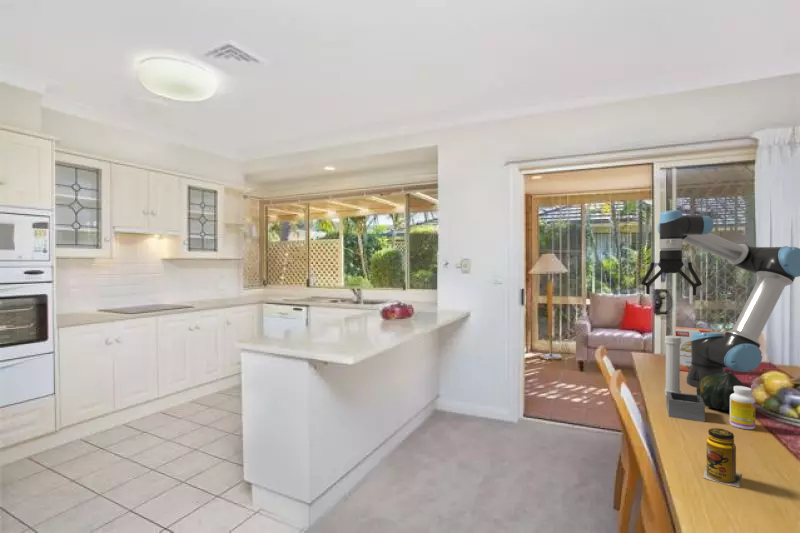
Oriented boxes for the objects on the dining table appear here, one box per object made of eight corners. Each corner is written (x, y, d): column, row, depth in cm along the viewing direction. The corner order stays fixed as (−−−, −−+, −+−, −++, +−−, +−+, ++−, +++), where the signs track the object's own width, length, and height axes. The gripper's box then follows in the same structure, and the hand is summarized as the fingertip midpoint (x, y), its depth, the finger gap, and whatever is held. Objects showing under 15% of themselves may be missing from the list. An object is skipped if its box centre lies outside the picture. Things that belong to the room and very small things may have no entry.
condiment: (702, 478, 108) (703, 432, 108) (705, 465, 115) (706, 422, 114) (739, 488, 103) (739, 440, 103) (740, 474, 110) (740, 428, 110)
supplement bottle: (757, 431, 136) (757, 392, 135) (731, 427, 139) (731, 389, 139) (753, 424, 141) (753, 386, 141) (728, 420, 145) (728, 383, 144)
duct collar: (700, 411, 153) (700, 395, 153) (704, 421, 144) (704, 404, 144) (666, 407, 158) (666, 391, 158) (668, 416, 149) (668, 399, 149)
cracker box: (674, 370, 207) (675, 328, 207) (674, 367, 212) (674, 326, 212) (710, 374, 200) (710, 330, 199) (708, 371, 205) (709, 328, 205)
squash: (690, 384, 168) (700, 362, 158) (735, 389, 163) (748, 367, 153) (697, 417, 158) (708, 396, 148) (746, 423, 153) (761, 402, 143)
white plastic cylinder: (683, 399, 166) (683, 323, 166) (665, 398, 168) (666, 323, 167) (677, 394, 172) (677, 321, 171) (660, 393, 173) (660, 321, 172)
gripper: (634, 250, 170) (634, 302, 171) (710, 249, 158) (710, 305, 159) (634, 250, 177) (634, 300, 178) (707, 249, 165) (707, 303, 165)
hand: (670, 303), depth 168 cm, fingers open, 13 cm apart
